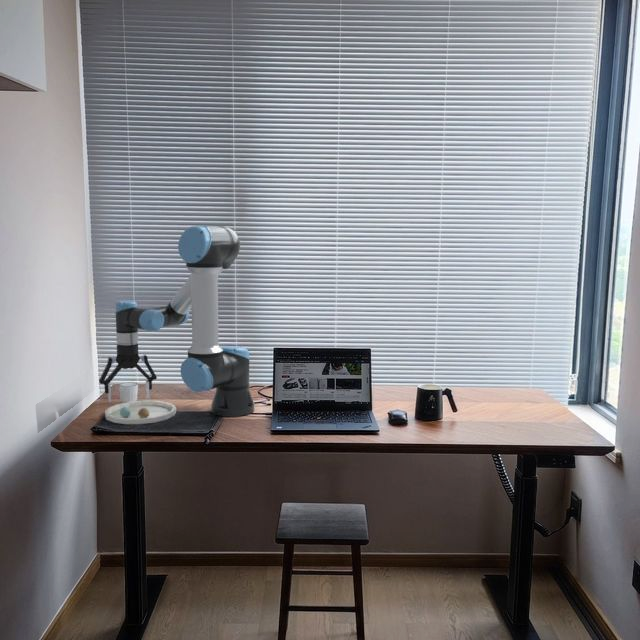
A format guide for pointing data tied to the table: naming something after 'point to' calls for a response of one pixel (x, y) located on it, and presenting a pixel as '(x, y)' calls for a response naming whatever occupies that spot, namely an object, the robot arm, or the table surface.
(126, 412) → the bead teal
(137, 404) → the ring tray
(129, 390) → the shot glass
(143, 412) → the bead honey
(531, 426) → the table surface
